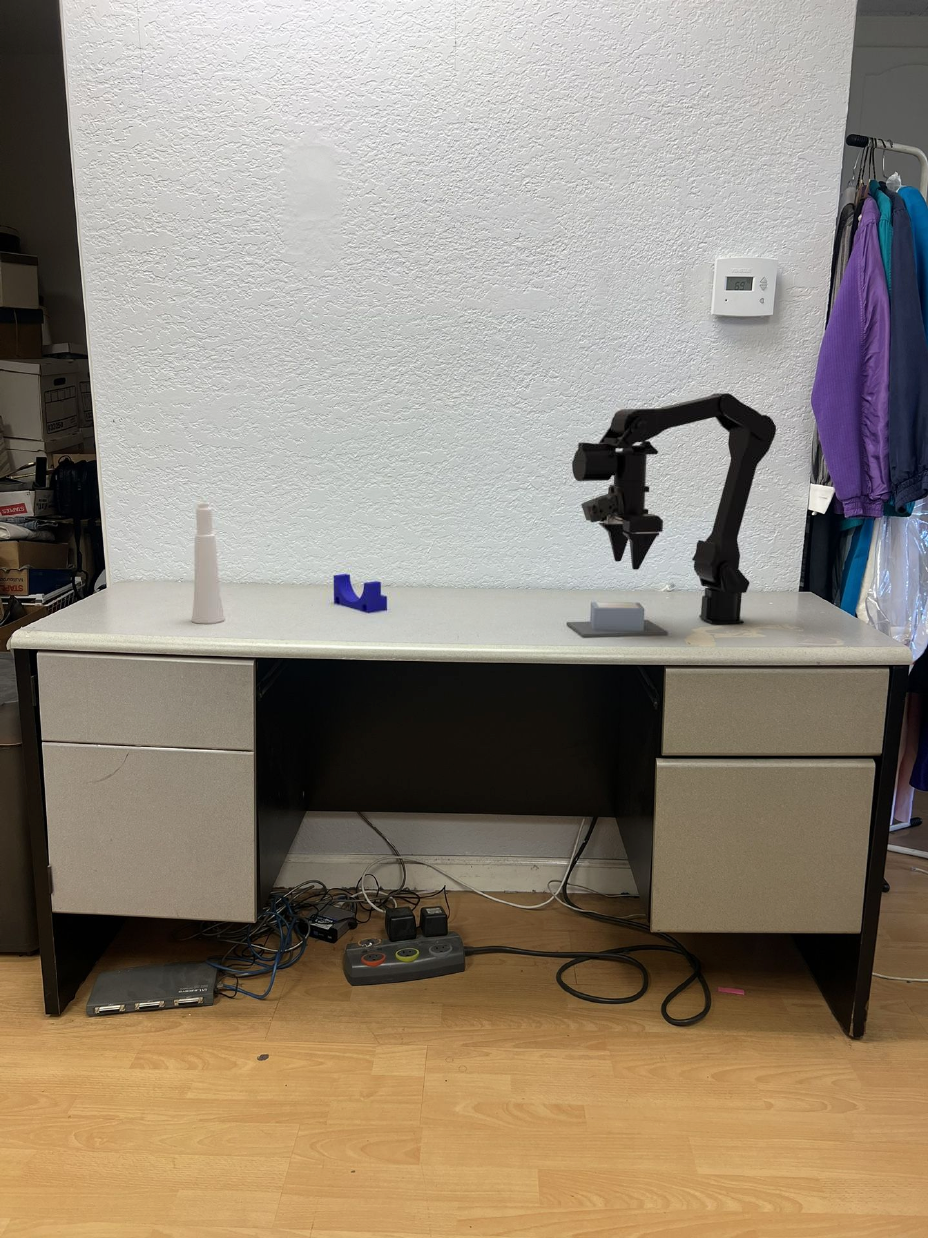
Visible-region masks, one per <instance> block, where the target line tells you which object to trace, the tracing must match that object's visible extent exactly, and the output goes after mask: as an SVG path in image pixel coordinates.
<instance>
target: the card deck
mask: <svg viewBox="0 0 928 1238" xmlns="http://www.w3.org/2000/svg"><path fill="white" fill-rule="evenodd" d="M589 613H590V617H589V621H590V624H591V626H592V628H593V630H624V631H643V628H644V620H645V608H644V607H643V605H642V604H641V603H640V602H627V601H626V602H623V601H619V602H618V601H616V602H615V601H614V602H613V601H612V602H611V601H591V602H590V611H589Z"/></svg>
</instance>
